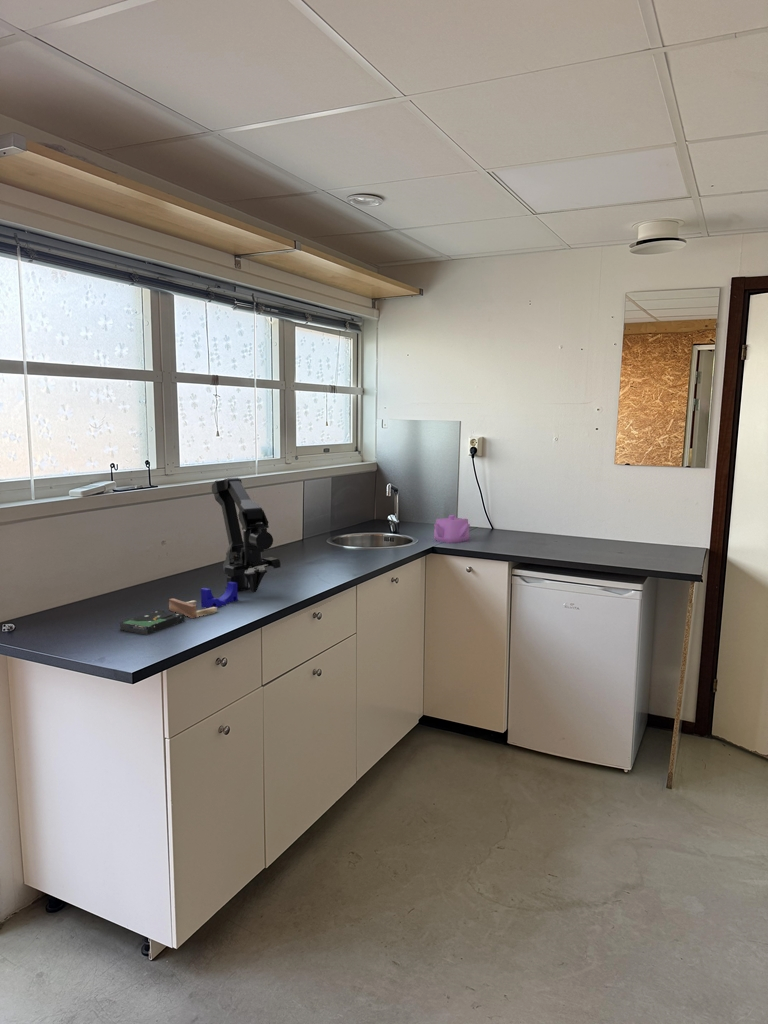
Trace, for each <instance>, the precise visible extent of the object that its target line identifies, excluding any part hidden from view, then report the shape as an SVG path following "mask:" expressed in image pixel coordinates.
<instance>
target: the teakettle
mask: <svg viewBox="0 0 768 1024" xmlns="http://www.w3.org/2000/svg"><path fill="white" fill-rule="evenodd" d="M433 526H434V531H433V537H434V541H435V540H437V541H436V542H439V541H442V542H441V543H445V542H446V543H445V544H456V543H461V542H462V541H463V542H467V541H469V539H470V526H471V524H470V523H469V519H467V518H463V517H461V518H460V517H456V515H455V514H449V515H448V517H445V518H436V519H435V523H434V524H433ZM463 542H462V543H463Z"/></svg>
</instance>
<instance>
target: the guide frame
mask: <svg viewBox="0 0 768 1024" xmlns="http://www.w3.org/2000/svg"><path fill="white" fill-rule="evenodd" d="M168 609H169V612H176V613H182V614H184V615H185V616H184V617H187V616H188V617H187V618H190V619H194V618H195V617H196V618H199V616H200V617H204V616H207V614H208V615H211V613H213V614H216V613H215V612H217V613H218V607H211V608H203V609H198V610H197V600H190V601H183V600H179V599H177V598H169V599H168ZM203 615H204V616H203Z"/></svg>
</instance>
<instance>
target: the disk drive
mask: <svg viewBox="0 0 768 1024" xmlns="http://www.w3.org/2000/svg"><path fill="white" fill-rule="evenodd" d="M182 621H183V622H185V616H184V614H182V613H175V612H173V611H168V612H165V610H160V609H157V610H153V611H151V612H147V613H145V614H142V615H139V616H135V617H133V618H130V619H127V620H123V621H121V622H119V629H120V631H123V630H124V631H125V632H129V633H135V634H142V635H150V634H153V633H155V632H159V631H160V630H163V629H166V628H169V627H173V626H174V624H175V625H177V623H178V624H180V622H181V623H183V622H182Z"/></svg>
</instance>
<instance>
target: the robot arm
mask: <svg viewBox="0 0 768 1024" xmlns="http://www.w3.org/2000/svg"><path fill="white" fill-rule="evenodd" d="M242 483H243V482H242V479H241V478H240V477H228V478H224V479H223V480H221V479H220V480H219V479H217V480H215V481H214V483H212V484H211V492H212V494H213V496H214V500H215V501H216V502H217V503H218V504H219V506H221V509H222V511H221V512H222V515H223V520H224V527H225V530H226V531H225V532H226V534H227V536H226V537H227V540H228V547H227V550H226V553H225V556H226V557H225V560H224V562H223V565H222V567H223V568H222V569H223V572H224V575H227V576H226V583H227V582H235V583H237V592H239V591H244V590H248V589H250V591H251V592H252V593H257V591H258V589H259V586H260V584H261V582H262V580H263V578H264V576H265V575H266V573H268V570H266V568H267V567H272V568H273V569H277V568H281V567H282V562H281V560H280V559H279V558H276V557H272V556H270V557H264V558H263V552H265V550H268V549H271V547H272V546H273V543H274V538H273V535H272V534H271V533H270V532H269V531H268V529H269V520H268V518H267V515H266V513H265V511H264V509H263V508H262V506H261V505H260V504H259V503H257V502H256V501H253V500H252V499H251V497H250V495H249V494H248V492H247V490H246V489H245V487H244V485H243V484H242ZM237 508H238V511H237ZM240 526H242V527H240ZM241 530H242V531H241ZM226 589H227V586H225V590H226Z"/></svg>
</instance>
